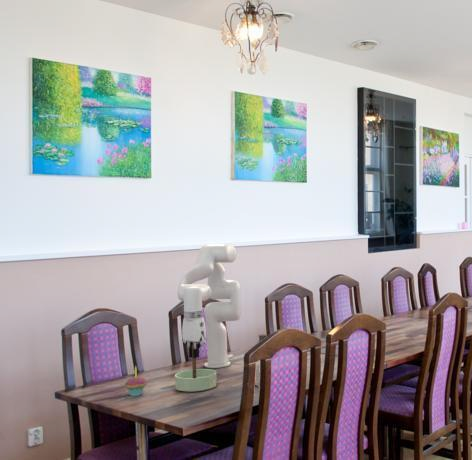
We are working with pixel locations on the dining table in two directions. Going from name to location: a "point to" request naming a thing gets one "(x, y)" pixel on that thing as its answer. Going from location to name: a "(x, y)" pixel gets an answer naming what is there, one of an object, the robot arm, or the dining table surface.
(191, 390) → the bowl
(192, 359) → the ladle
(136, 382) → the cupcake
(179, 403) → the dining table surface
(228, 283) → the robot arm
